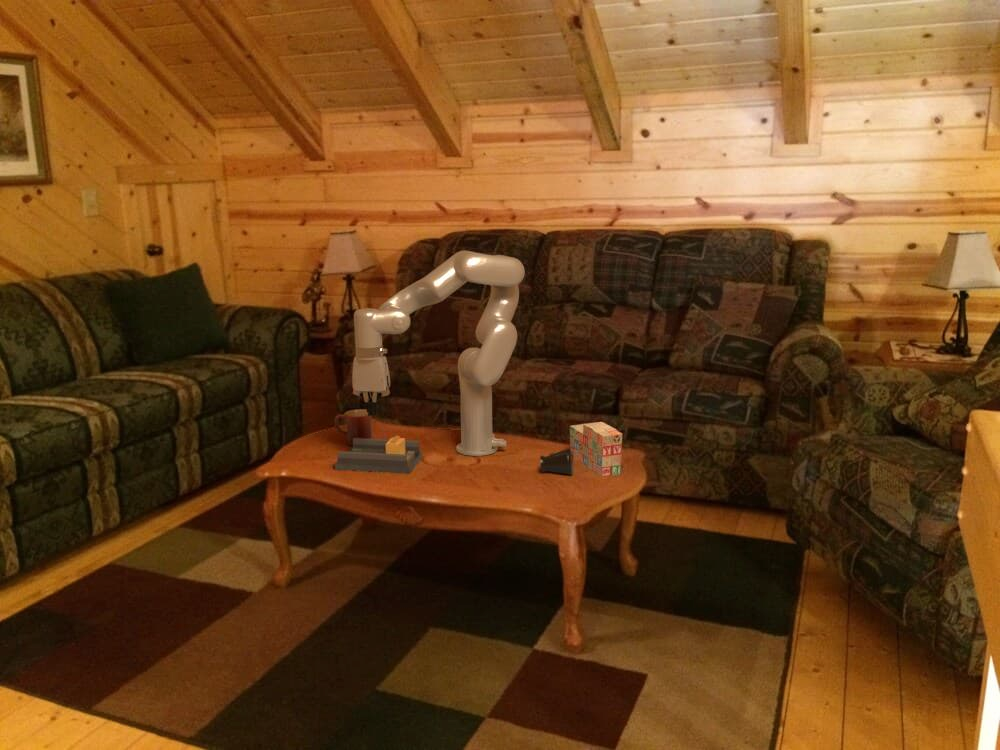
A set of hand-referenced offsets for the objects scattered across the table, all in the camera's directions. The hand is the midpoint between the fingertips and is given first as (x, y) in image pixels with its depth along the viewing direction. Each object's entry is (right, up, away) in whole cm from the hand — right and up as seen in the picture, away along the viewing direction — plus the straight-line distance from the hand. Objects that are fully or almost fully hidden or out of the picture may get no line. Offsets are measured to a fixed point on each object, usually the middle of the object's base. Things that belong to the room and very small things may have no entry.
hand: (372, 414), depth 245 cm
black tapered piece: (+54, -15, 0) cm, 56 cm away
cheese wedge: (+7, -12, +2) cm, 14 cm away
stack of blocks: (+64, -15, +1) cm, 66 cm away
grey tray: (+2, -13, +2) cm, 13 cm away
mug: (-9, -11, +22) cm, 26 cm away
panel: (+2, -14, +3) cm, 15 cm away
